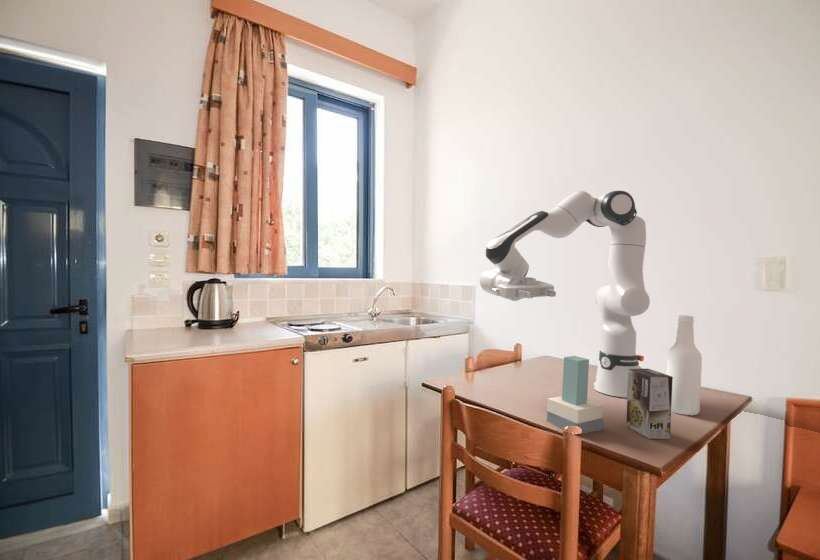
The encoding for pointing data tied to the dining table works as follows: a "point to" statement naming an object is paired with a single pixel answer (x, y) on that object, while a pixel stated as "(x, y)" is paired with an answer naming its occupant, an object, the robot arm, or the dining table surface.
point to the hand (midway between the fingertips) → (543, 295)
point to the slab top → (575, 410)
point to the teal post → (575, 380)
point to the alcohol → (685, 369)
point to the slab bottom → (585, 426)
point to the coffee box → (649, 403)
